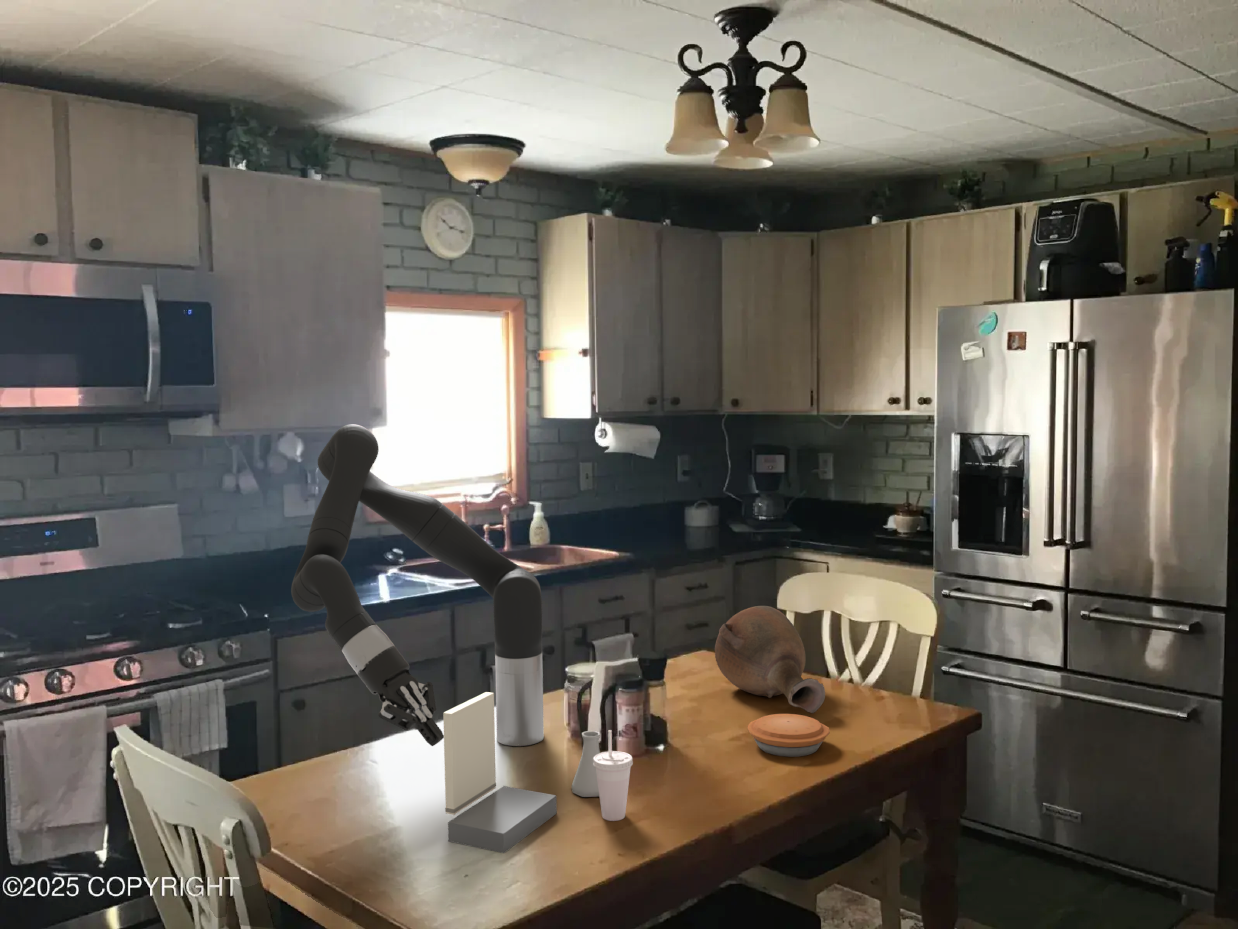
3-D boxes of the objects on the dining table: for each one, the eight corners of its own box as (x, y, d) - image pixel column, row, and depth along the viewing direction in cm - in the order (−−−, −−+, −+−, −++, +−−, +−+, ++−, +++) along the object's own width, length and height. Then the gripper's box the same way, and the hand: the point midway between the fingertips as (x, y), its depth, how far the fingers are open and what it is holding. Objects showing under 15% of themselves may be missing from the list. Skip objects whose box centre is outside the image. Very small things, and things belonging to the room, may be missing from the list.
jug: (707, 682, 245) (768, 744, 218) (697, 606, 239) (759, 660, 212) (784, 657, 251) (853, 714, 224) (776, 582, 245) (846, 632, 218)
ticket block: (504, 803, 175) (503, 786, 175) (556, 813, 171) (556, 795, 171) (448, 841, 161) (447, 822, 161) (503, 853, 157) (503, 833, 157)
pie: (794, 767, 191) (794, 741, 190) (730, 746, 202) (730, 721, 202) (846, 747, 201) (846, 722, 200) (782, 728, 212) (782, 704, 212)
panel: (488, 786, 174) (486, 691, 173) (496, 788, 174) (494, 693, 172) (445, 813, 163) (442, 712, 162) (453, 815, 163) (451, 714, 162)
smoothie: (611, 805, 174) (610, 722, 173) (641, 814, 170) (640, 730, 169) (585, 817, 169) (584, 732, 168) (616, 828, 165) (615, 740, 164)
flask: (564, 786, 183) (563, 730, 182) (603, 780, 186) (602, 724, 185) (580, 801, 176) (578, 743, 175) (619, 794, 179) (618, 737, 178)
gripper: (387, 660, 183) (447, 739, 179) (337, 684, 171) (401, 770, 167) (411, 634, 180) (473, 715, 176) (362, 657, 168) (428, 744, 164)
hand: (438, 742), depth 172 cm, fingers closed
